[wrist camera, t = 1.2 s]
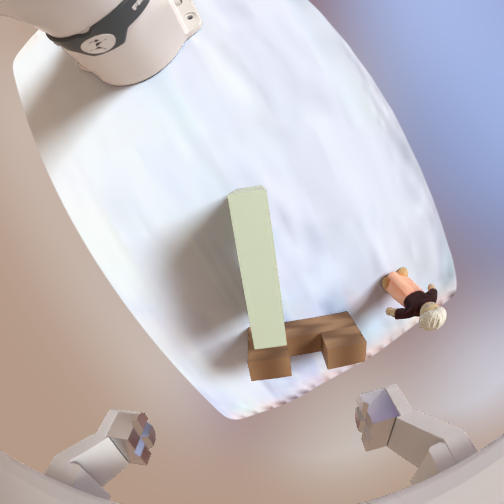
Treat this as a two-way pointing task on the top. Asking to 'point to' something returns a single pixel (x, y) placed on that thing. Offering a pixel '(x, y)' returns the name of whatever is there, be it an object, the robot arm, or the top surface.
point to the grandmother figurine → (413, 300)
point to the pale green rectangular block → (258, 265)
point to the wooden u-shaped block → (309, 345)
